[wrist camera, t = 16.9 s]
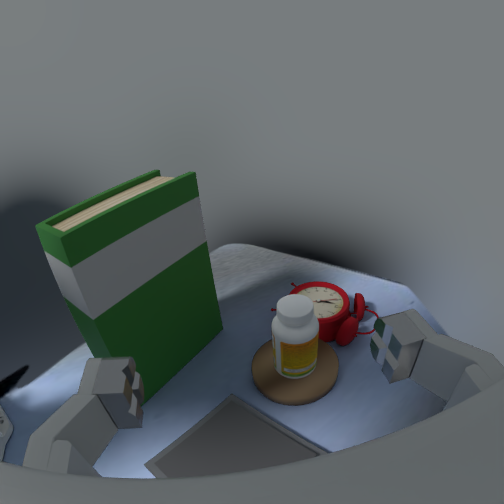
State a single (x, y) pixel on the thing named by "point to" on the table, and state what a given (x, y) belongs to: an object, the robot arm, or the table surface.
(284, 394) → the round brown pad
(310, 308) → the supplement bottle
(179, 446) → the equipment case
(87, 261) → the hardback book
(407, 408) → the table surface
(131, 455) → the table surface
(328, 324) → the alarm clock
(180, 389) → the table surface
